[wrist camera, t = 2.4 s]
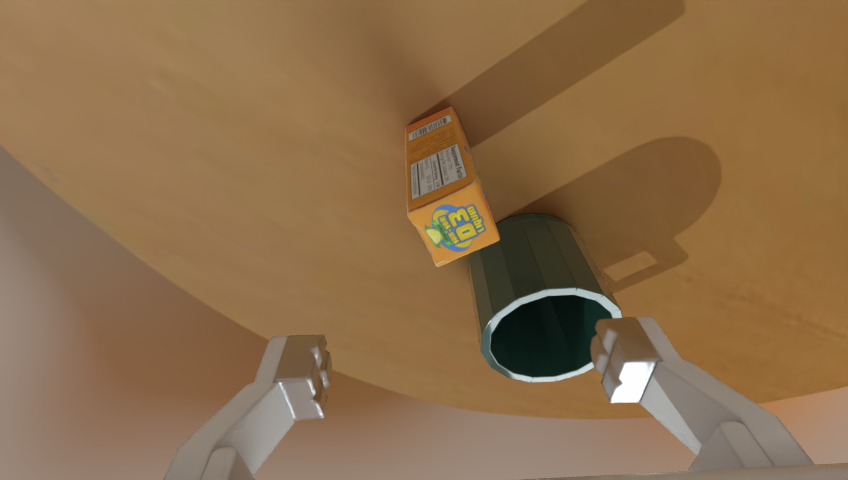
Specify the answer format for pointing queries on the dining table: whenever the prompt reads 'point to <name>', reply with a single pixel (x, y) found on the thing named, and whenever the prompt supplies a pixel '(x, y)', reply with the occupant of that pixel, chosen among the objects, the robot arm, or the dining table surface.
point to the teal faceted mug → (538, 299)
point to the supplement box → (445, 189)
